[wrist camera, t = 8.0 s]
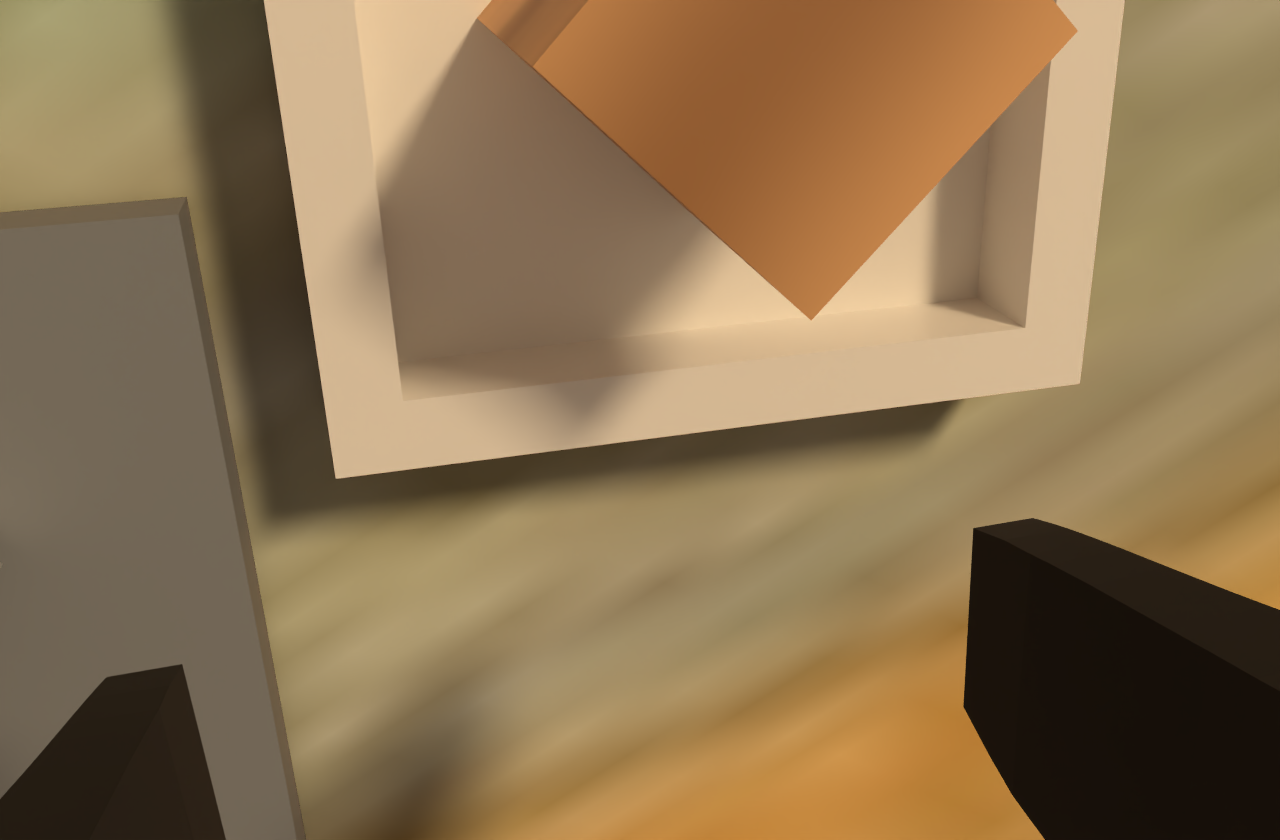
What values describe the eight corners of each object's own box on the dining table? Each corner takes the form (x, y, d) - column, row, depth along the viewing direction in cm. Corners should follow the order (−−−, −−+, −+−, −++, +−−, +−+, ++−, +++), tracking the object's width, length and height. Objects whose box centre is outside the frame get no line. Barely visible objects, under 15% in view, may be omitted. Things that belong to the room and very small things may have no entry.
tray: (1013, 340, 20) (1079, 383, 19) (335, 421, 18) (335, 479, 16) (1088, -459, 16) (1184, -503, 14) (203, -474, 14) (184, -530, 12)
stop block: (883, -6, 17) (1077, 30, 13) (689, 213, 18) (811, 320, 13) (682, -231, 15) (826, -283, 11) (476, 18, 16) (532, 67, 12)
